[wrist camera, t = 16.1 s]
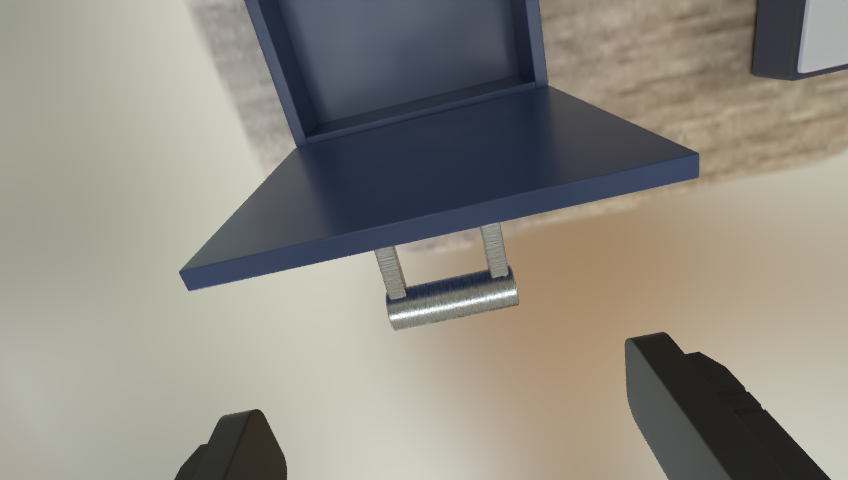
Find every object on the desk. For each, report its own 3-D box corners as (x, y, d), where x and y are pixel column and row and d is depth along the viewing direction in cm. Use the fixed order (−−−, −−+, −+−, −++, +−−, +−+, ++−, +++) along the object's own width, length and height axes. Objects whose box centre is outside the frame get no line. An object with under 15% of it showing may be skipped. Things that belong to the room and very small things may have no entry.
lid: (177, 272, 15) (243, 395, 17) (700, 152, 14) (697, 302, 16) (294, 148, 30) (321, 223, 32) (550, 85, 29) (559, 168, 31)
